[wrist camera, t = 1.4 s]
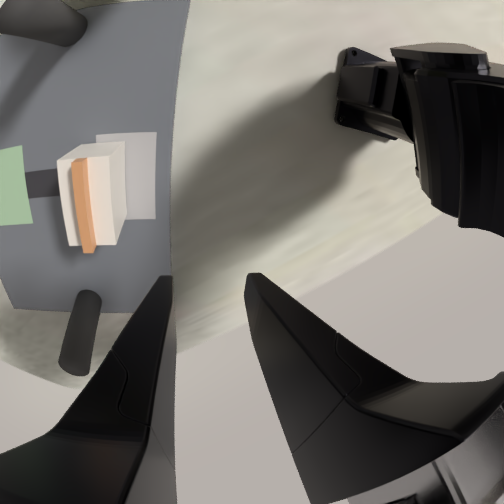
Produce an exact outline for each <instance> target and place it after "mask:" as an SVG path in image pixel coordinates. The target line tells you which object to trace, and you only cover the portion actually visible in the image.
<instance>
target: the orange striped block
mask: <svg viewBox="0 0 504 504" xmlns="http://www.w3.org/2000/svg"><path fill="white" fill-rule="evenodd" d="M57 170H58V180H59V189H60V197H61V204H62V210H63V216H64V222H65V227H66V233H67V237H68V242H69V246H82V248H83V253H94V250H95V248H96V246H97V245H116V244H117V241H118V238H119V235H120V232H121V229H122V226H123V223H124V221H125V218H126V215H127V208H126V189H125V141H119V142H103V143H90V144H81V145H80V146H78V147H76V148H75V149H73V150H72V151H70V152H69V153H67V154H66V155H64V156H63V157H61V158H60V159H58V160H57Z"/></svg>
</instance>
